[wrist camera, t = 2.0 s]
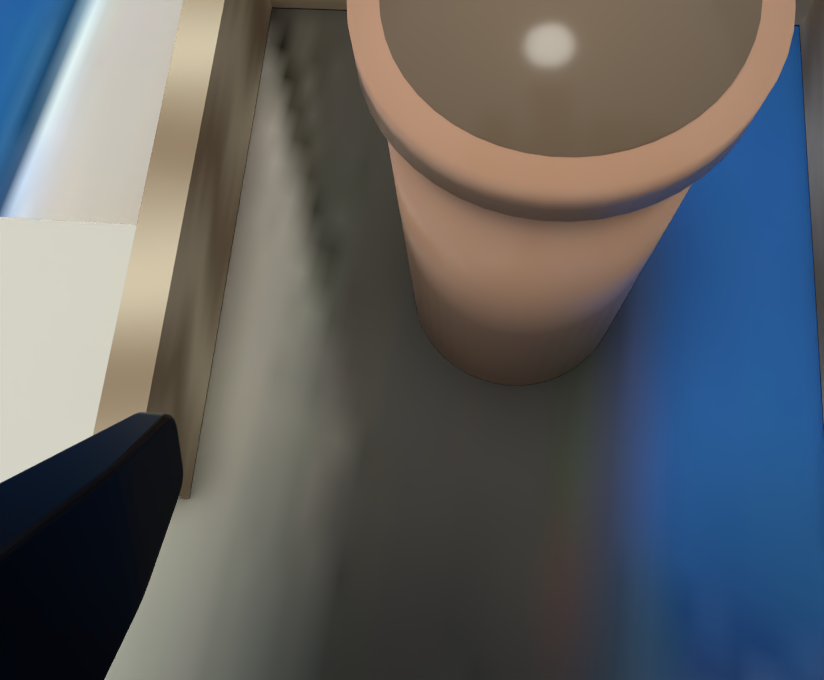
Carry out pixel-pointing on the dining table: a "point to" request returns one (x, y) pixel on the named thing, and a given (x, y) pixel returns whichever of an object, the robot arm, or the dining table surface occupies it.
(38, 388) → the stone tile
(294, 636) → the dining table surface
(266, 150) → the dining table surface
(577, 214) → the terracotta pot
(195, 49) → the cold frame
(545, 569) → the dining table surface
